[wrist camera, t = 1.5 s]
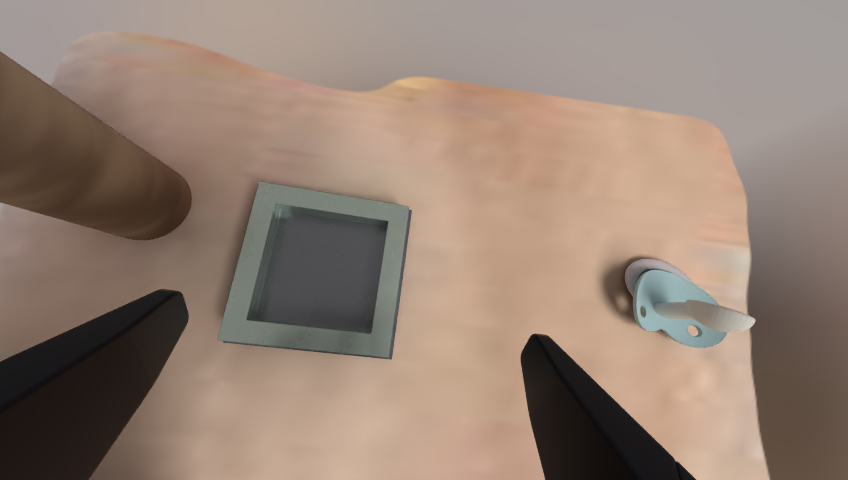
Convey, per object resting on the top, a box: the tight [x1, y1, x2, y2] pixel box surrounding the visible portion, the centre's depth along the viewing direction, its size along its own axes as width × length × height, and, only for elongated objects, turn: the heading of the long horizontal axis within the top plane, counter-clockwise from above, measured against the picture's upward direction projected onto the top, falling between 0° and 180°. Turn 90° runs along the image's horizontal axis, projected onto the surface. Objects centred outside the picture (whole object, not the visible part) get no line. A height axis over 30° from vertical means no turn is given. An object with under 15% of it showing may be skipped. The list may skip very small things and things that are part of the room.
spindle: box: [0, 52, 192, 240], centre depth 14 cm, size 5×5×12 cm
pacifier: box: [625, 258, 755, 348], centre depth 21 cm, size 7×6×6 cm
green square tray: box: [217, 182, 412, 359], centre depth 19 cm, size 10×10×2 cm
